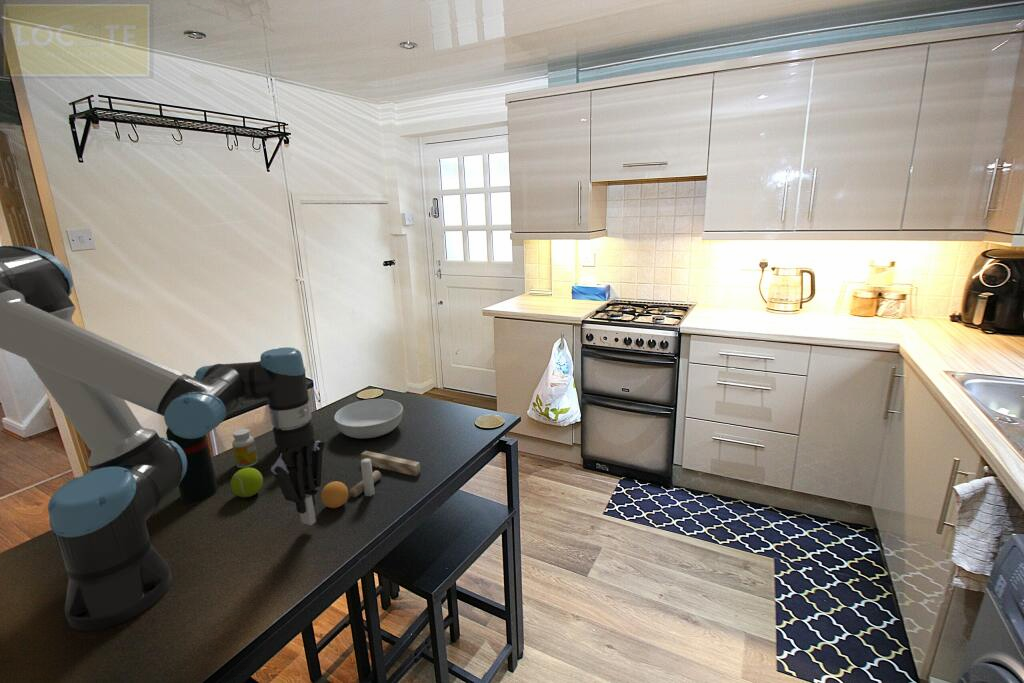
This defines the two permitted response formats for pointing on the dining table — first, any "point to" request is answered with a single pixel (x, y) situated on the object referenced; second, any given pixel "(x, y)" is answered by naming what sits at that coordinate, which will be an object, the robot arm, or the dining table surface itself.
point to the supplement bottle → (244, 448)
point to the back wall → (392, 463)
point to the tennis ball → (246, 482)
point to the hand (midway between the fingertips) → (308, 522)
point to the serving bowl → (369, 418)
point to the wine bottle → (195, 469)
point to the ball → (334, 494)
